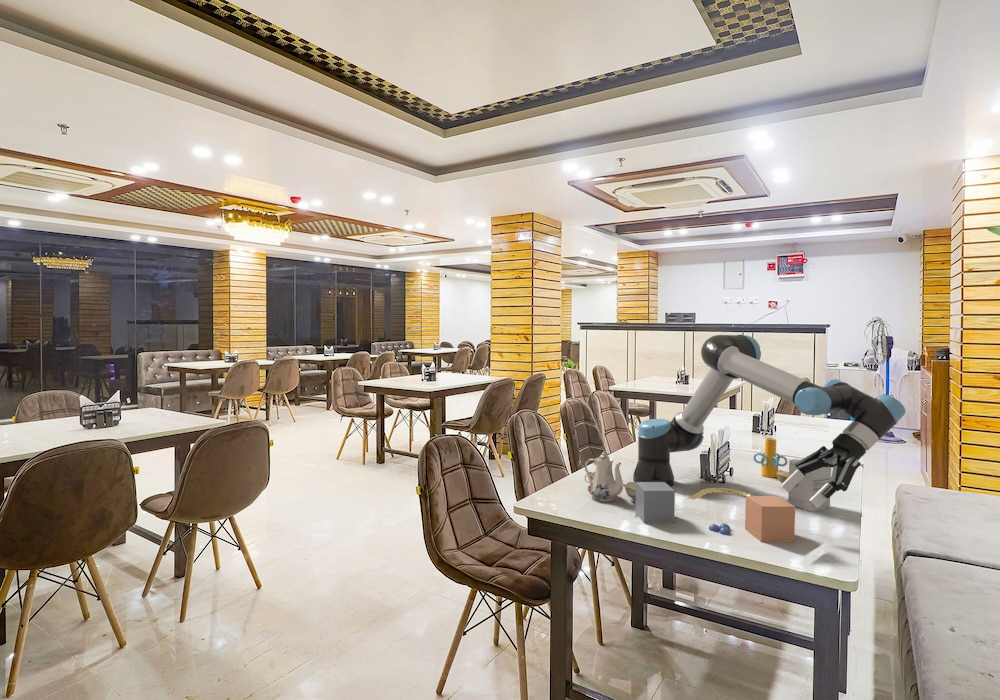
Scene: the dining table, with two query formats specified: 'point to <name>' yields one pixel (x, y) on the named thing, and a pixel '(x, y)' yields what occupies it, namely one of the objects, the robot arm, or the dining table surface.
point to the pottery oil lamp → (782, 476)
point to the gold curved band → (718, 491)
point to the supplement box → (809, 487)
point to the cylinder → (770, 459)
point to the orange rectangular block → (770, 518)
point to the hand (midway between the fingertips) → (798, 496)
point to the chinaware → (607, 480)
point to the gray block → (655, 502)
